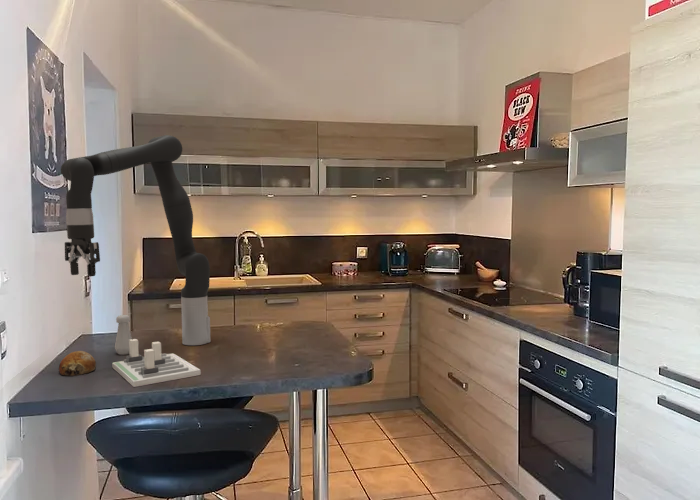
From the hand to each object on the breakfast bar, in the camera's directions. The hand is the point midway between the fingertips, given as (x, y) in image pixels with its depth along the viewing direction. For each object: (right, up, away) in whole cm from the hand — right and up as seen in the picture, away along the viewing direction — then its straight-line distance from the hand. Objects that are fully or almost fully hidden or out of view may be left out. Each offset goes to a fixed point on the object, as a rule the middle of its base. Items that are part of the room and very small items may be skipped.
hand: (83, 275), depth 174 cm
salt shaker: (+6, -27, +16) cm, 33 cm away
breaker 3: (+25, -27, -5) cm, 37 cm away
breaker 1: (+16, -27, -1) cm, 31 cm away
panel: (+24, -29, -5) cm, 38 cm away
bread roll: (+1, -29, -5) cm, 30 cm away
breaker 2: (+26, -28, -14) cm, 40 cm away
